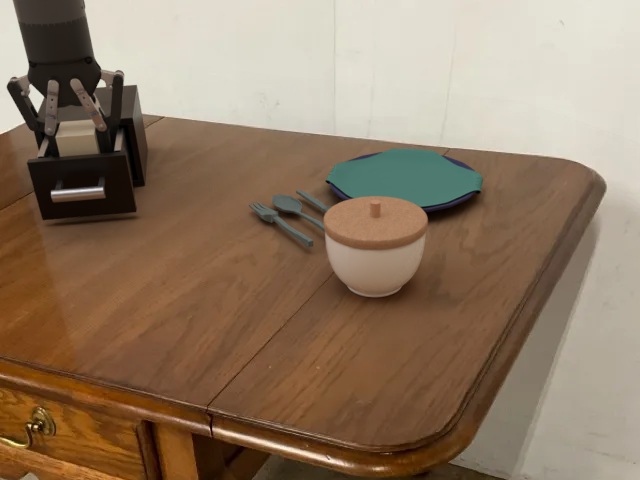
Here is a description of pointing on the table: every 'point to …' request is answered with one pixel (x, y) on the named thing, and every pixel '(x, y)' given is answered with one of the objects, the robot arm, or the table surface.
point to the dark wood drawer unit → (129, 117)
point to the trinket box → (375, 243)
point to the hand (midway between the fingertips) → (84, 159)
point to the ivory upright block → (77, 138)
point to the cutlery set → (386, 184)
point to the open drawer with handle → (85, 181)
